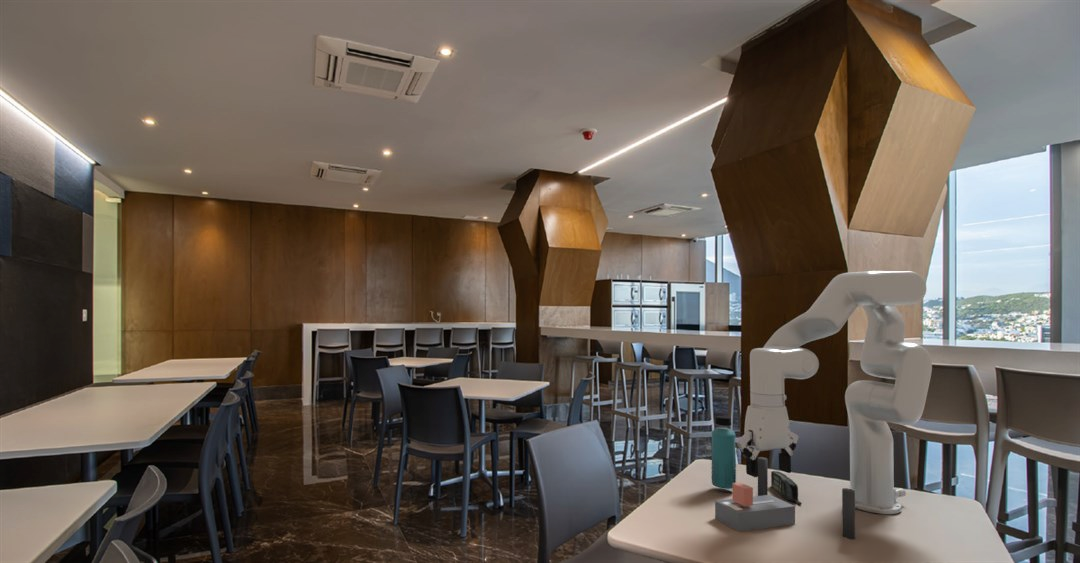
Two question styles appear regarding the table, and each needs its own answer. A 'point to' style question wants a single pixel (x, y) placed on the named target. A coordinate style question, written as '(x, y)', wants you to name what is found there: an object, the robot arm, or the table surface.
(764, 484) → the post
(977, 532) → the table surface
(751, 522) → the box
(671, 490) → the table surface
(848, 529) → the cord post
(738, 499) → the switch
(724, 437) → the beverage bottle
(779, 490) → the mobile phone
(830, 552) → the table surface
